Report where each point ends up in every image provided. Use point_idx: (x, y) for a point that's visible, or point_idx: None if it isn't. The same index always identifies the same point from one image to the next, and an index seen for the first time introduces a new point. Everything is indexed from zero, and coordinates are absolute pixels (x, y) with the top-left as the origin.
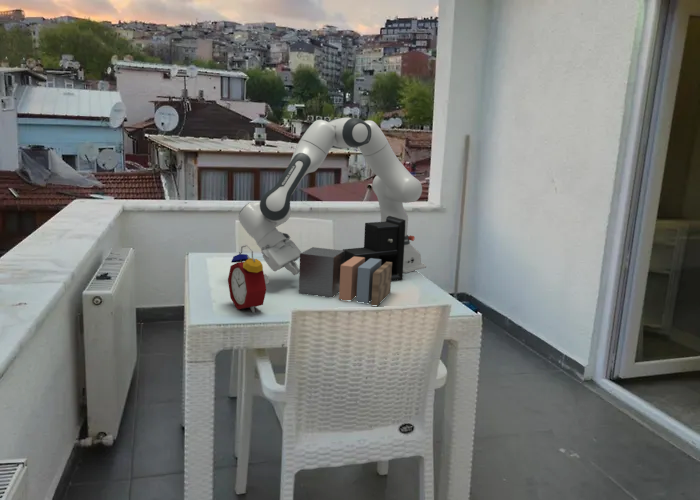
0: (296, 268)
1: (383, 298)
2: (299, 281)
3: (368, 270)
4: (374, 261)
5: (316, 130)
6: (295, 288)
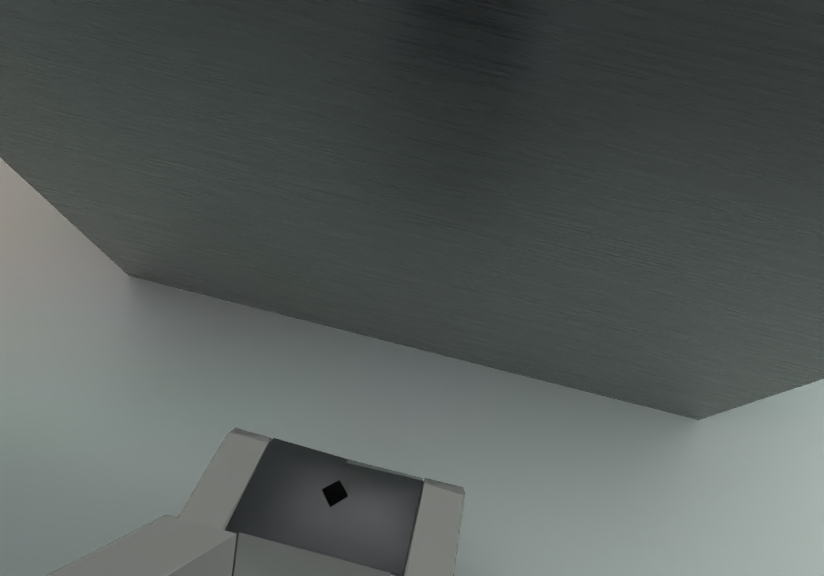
0: (313, 531)
1: None
2: (804, 377)
3: None
4: None
5: None
6: None
